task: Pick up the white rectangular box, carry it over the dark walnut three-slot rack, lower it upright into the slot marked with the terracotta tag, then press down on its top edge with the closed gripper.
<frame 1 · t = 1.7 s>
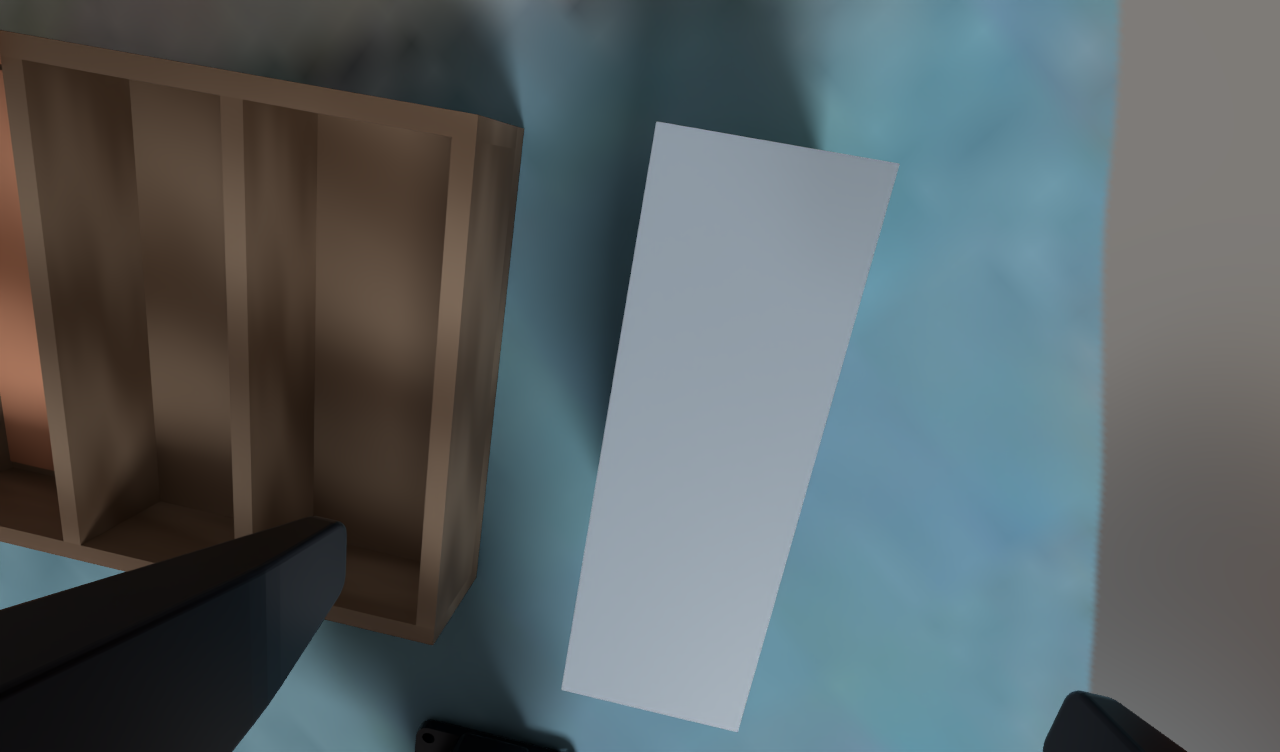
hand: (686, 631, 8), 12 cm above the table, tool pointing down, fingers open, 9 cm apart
rack: (234, 324, 21), on the table
white rectangular box: (709, 360, 20), on the table
when the fingers open (5 cm above the table, at t = 8.4 s): white rectangular box drops 2 cm, resting on rack.
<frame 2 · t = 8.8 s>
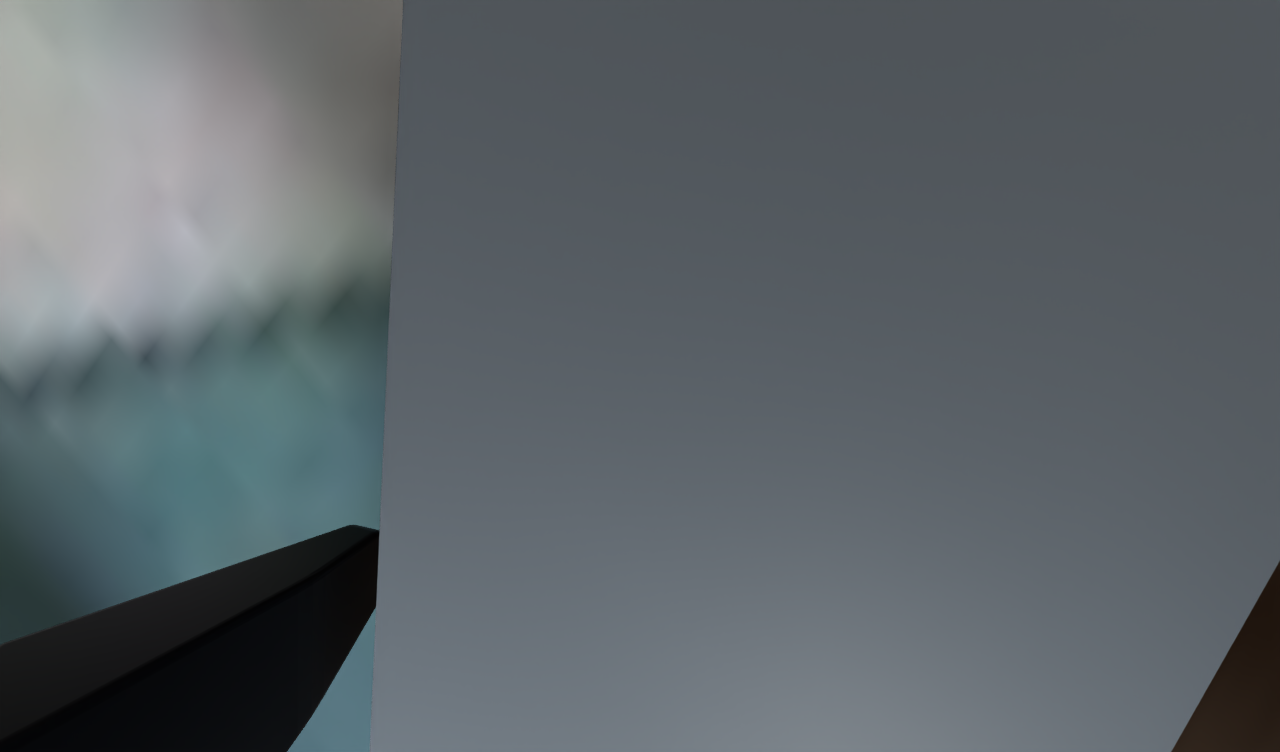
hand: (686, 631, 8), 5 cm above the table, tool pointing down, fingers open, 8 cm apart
rack: (1005, 525, 12), on the table
white rectangular box: (699, 474, 12), point 1 cm above the table, touching rack
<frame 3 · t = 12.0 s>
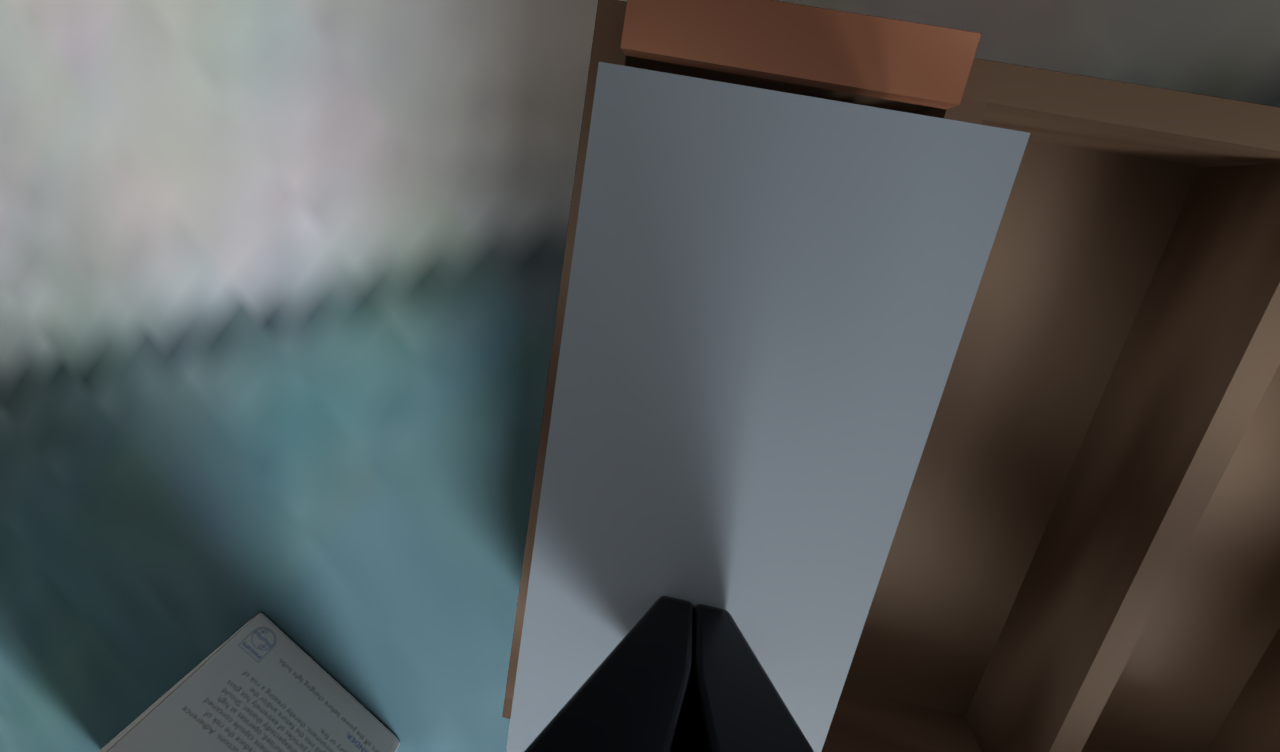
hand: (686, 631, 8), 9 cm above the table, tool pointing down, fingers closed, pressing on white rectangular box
rack: (941, 449, 16), on the table
light bulb box: (251, 741, 22), on the table
white rectangular box: (705, 407, 15), point 1 cm above the table, touching gripper, rack
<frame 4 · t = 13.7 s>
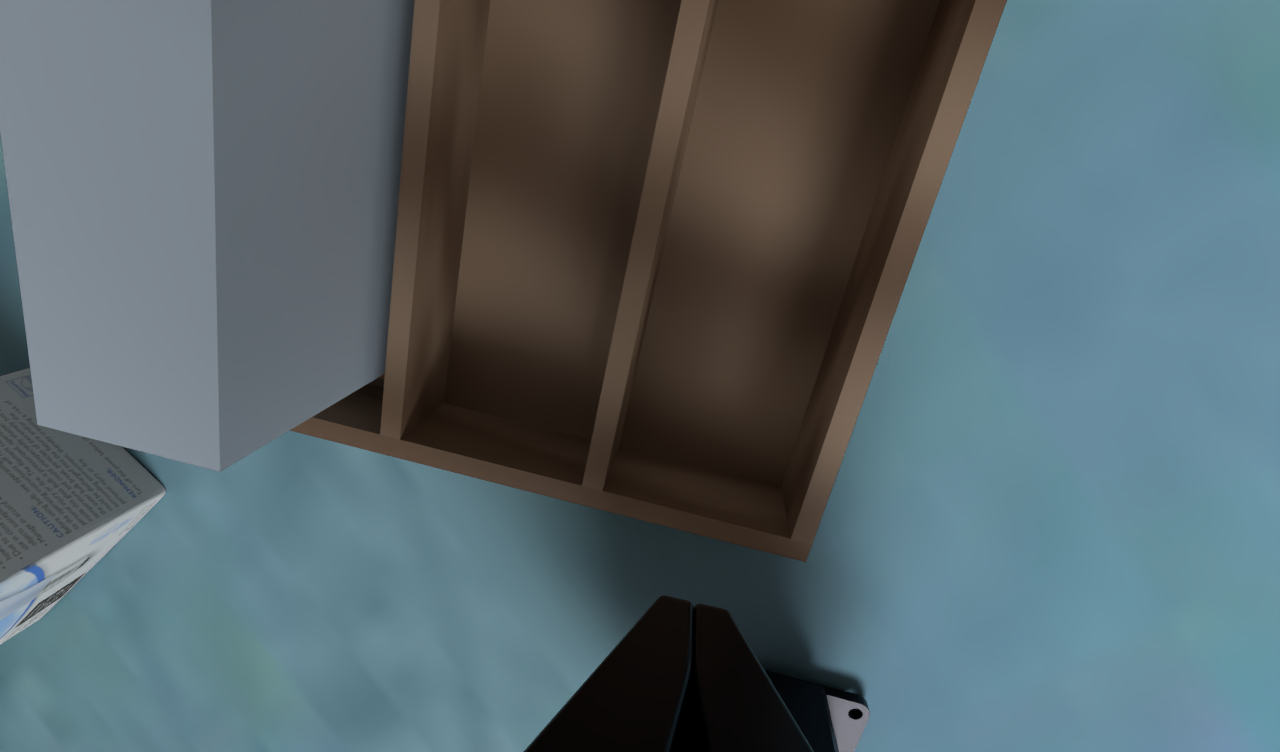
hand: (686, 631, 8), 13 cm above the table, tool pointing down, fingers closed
rack: (563, 200, 19), on the table
light bulb box: (45, 496, 25), on the table
white rectangular box: (360, 153, 18), point 1 cm above the table, touching rack
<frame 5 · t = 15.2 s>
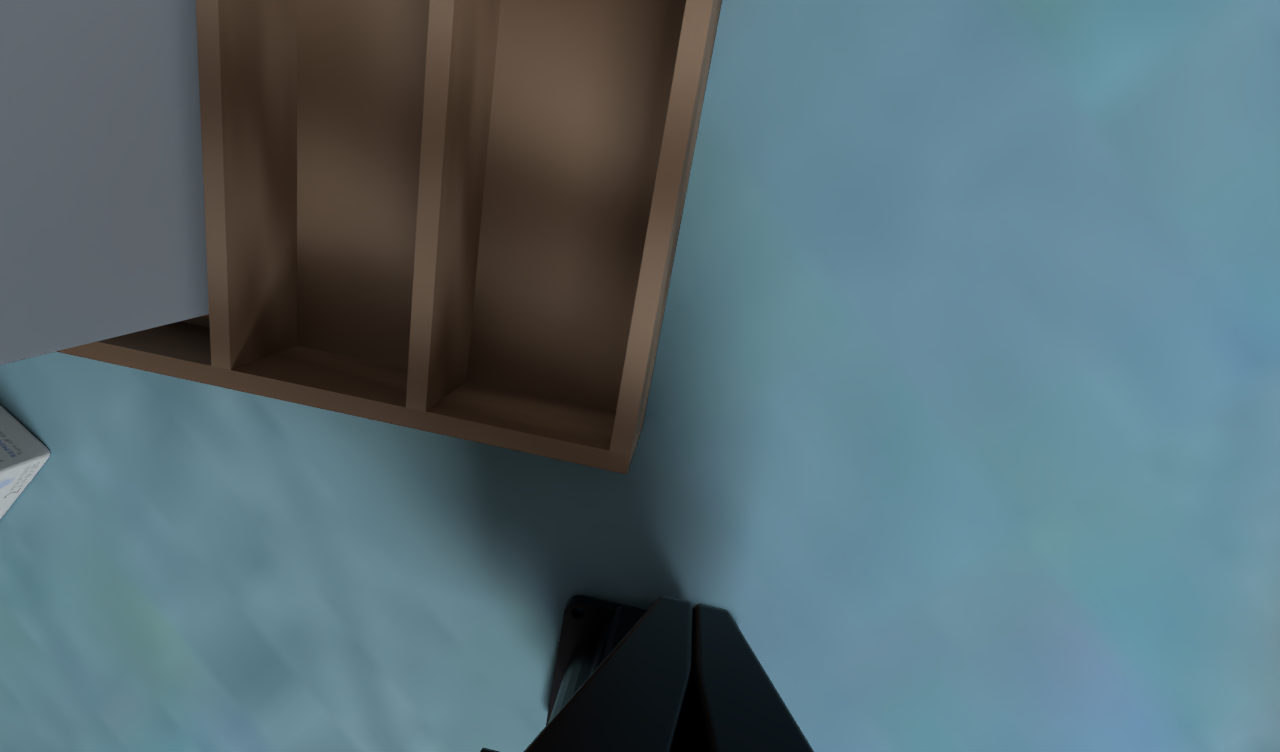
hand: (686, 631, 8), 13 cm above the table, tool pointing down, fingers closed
rack: (391, 136, 19), on the table
white rectangular box: (191, 97, 19), point 1 cm above the table, touching rack
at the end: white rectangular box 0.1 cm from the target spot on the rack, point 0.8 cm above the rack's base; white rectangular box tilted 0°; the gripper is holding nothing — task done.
